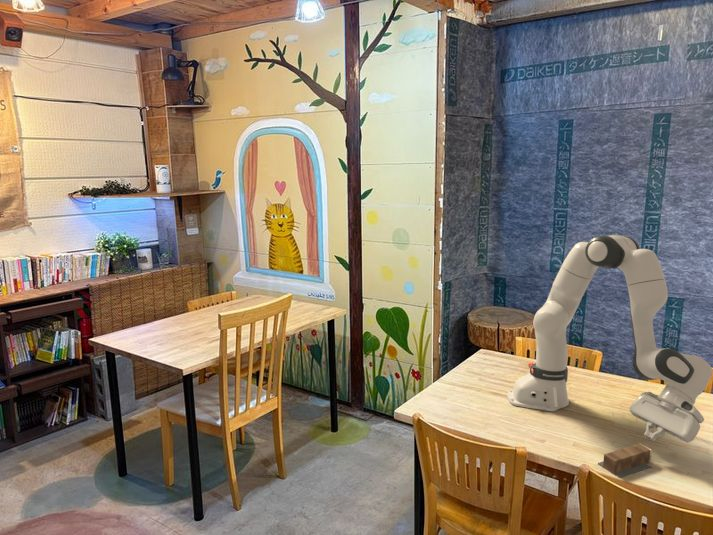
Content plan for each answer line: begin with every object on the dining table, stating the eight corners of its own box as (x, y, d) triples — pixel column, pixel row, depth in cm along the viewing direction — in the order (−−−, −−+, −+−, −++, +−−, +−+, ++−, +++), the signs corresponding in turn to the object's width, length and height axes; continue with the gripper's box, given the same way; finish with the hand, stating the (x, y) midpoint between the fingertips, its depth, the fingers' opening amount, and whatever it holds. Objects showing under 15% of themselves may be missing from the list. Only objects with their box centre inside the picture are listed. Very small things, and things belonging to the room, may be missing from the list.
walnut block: (650, 461, 164) (613, 473, 158) (638, 455, 167) (603, 466, 162) (651, 449, 163) (614, 461, 157) (640, 443, 167) (603, 454, 161)
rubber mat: (619, 477, 156) (619, 476, 156) (597, 463, 164) (597, 463, 164) (651, 467, 161) (651, 466, 161) (628, 454, 169) (628, 453, 169)
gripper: (640, 384, 174) (615, 418, 173) (701, 411, 156) (674, 449, 154) (649, 394, 177) (624, 428, 175) (709, 422, 159) (683, 459, 157)
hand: (648, 438), depth 165 cm, fingers closed
